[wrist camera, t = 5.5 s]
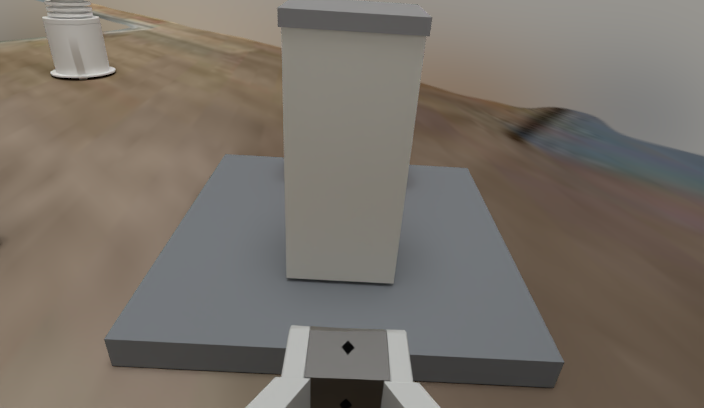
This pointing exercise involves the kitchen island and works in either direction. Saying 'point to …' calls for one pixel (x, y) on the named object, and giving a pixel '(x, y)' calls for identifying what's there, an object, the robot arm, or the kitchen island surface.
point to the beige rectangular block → (348, 133)
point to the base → (336, 287)
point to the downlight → (75, 40)
